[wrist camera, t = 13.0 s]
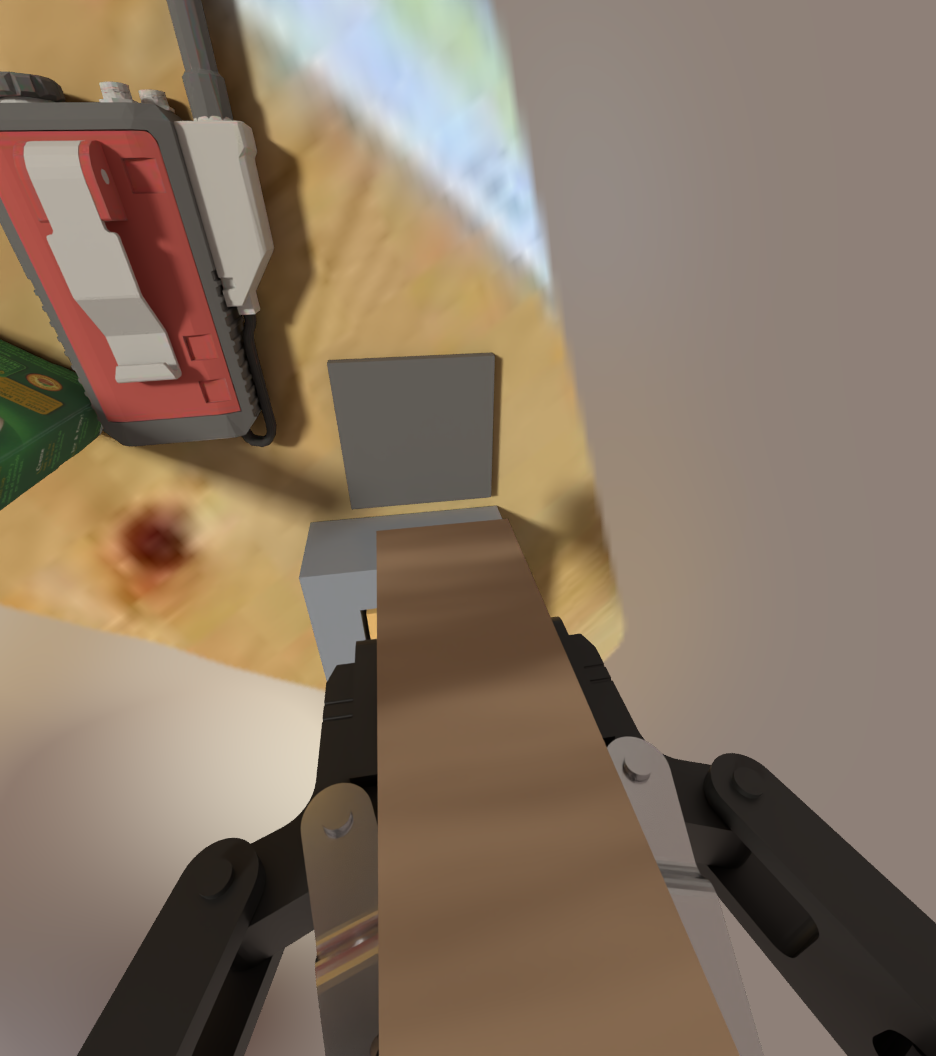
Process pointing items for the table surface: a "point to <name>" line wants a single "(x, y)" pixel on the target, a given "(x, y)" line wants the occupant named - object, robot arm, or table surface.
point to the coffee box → (39, 420)
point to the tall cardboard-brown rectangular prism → (510, 830)
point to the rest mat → (415, 427)
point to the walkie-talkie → (144, 245)
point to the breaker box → (355, 575)
